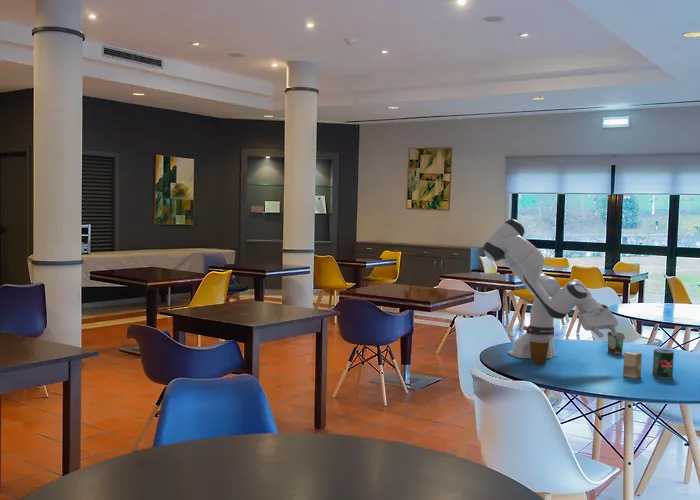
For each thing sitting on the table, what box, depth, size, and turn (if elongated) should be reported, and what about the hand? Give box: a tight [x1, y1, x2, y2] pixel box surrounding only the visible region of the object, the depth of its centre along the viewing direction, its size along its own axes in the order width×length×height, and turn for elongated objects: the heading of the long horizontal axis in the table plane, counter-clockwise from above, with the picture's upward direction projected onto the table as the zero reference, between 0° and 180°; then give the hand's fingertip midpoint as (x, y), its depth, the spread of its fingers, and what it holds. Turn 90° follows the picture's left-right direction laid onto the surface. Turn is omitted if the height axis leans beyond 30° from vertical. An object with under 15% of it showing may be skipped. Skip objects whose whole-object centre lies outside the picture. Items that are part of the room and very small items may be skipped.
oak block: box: [622, 351, 643, 379], centre depth 293 cm, size 5×5×10 cm
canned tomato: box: [652, 348, 675, 380], centre depth 295 cm, size 8×8×11 cm
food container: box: [607, 331, 626, 356], centre depth 345 cm, size 12×6×10 cm, turn 179°
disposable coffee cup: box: [529, 335, 550, 365], centre depth 318 cm, size 10×10×12 cm
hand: (608, 335), depth 303 cm, fingers open, 8 cm apart
